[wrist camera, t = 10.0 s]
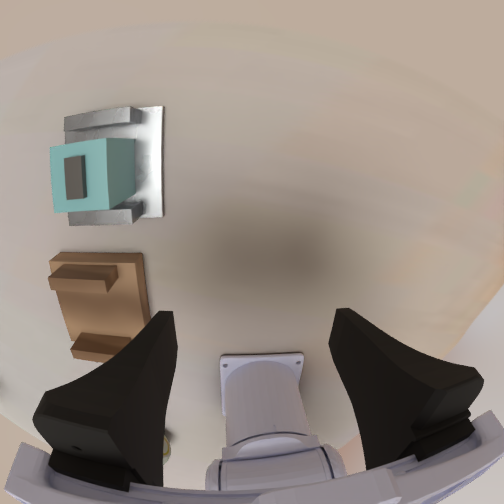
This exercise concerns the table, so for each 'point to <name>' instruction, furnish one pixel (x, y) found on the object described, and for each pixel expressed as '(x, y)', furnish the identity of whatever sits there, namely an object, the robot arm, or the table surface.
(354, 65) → the table surface
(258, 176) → the table surface
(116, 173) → the plug
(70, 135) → the lower dock
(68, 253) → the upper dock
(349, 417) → the table surface
